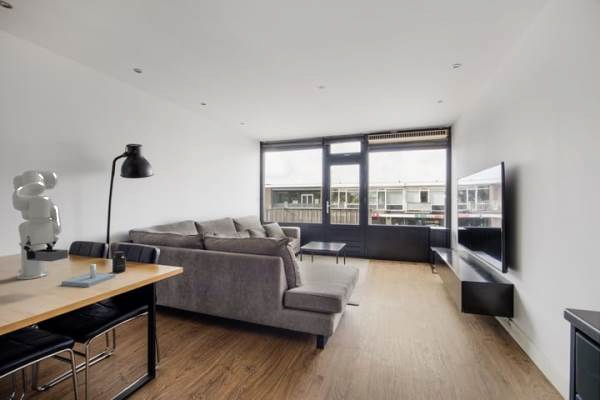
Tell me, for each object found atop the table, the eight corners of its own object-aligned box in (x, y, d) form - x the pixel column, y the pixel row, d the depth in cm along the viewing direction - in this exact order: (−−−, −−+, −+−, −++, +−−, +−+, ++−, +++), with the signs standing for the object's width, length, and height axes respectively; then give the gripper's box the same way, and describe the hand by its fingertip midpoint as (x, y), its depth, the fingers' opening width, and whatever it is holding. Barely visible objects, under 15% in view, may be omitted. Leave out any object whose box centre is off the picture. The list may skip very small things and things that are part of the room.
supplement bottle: (118, 273, 156) (118, 253, 155) (109, 273, 157) (109, 253, 157) (128, 270, 162) (128, 251, 162) (119, 269, 164) (119, 250, 164)
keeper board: (61, 285, 135) (61, 267, 135) (90, 275, 151) (90, 260, 151) (88, 286, 133) (88, 269, 133) (115, 277, 149) (115, 261, 149)
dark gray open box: (26, 260, 127) (26, 251, 127) (44, 256, 134) (44, 248, 134) (51, 261, 125) (51, 253, 125) (67, 257, 132) (67, 249, 132)
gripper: (52, 219, 139) (52, 252, 139) (11, 222, 122) (12, 260, 122) (64, 219, 138) (64, 253, 138) (25, 223, 121) (25, 261, 121)
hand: (40, 256), depth 130 cm, fingers closed on dark gray open box, 7 cm apart
